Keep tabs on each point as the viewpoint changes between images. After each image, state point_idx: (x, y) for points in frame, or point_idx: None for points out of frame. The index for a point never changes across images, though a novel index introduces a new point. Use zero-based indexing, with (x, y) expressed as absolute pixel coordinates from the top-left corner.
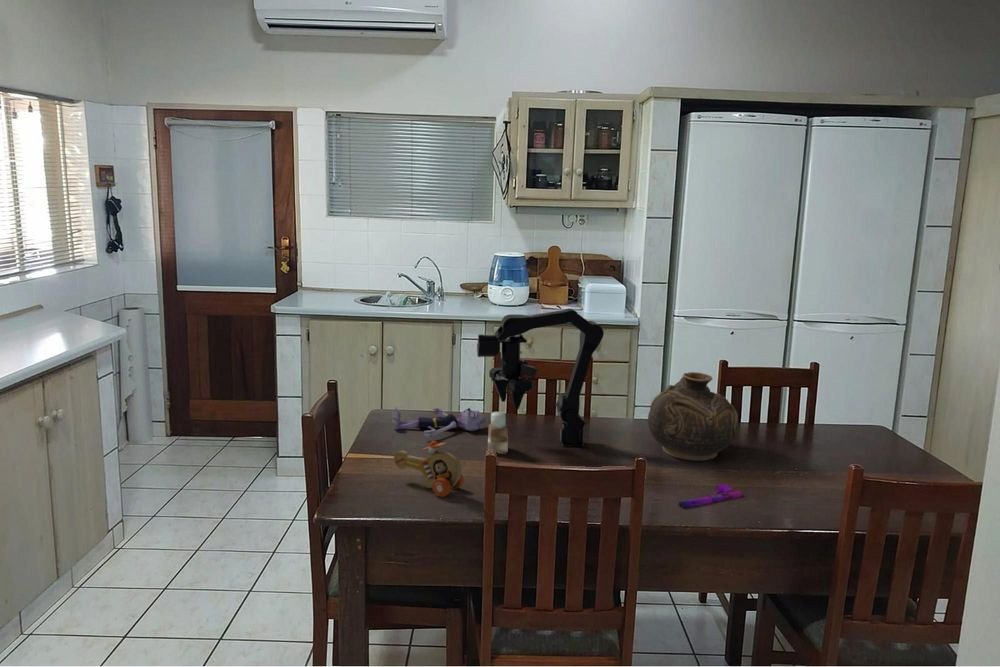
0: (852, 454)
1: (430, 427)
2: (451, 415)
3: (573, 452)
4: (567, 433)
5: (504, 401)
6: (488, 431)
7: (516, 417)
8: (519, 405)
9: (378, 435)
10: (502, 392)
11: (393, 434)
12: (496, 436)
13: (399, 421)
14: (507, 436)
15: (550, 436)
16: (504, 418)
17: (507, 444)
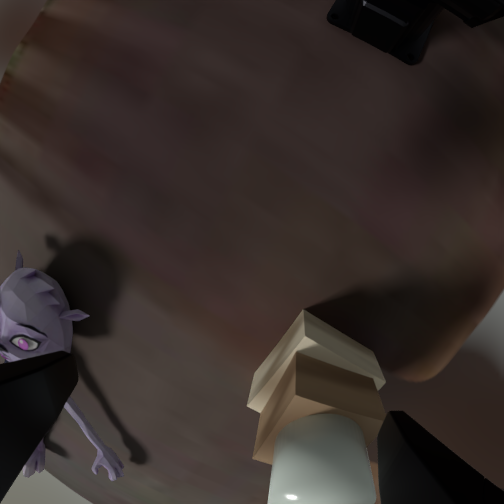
0: None
1: (96, 469)
2: None
3: (475, 85)
4: (422, 21)
5: (74, 360)
6: (258, 430)
7: (20, 81)
8: (429, 438)
9: (77, 484)
10: (16, 429)
11: (73, 468)
12: None
13: None
14: (311, 341)
15: (258, 32)
16: (370, 474)
17: (383, 377)
